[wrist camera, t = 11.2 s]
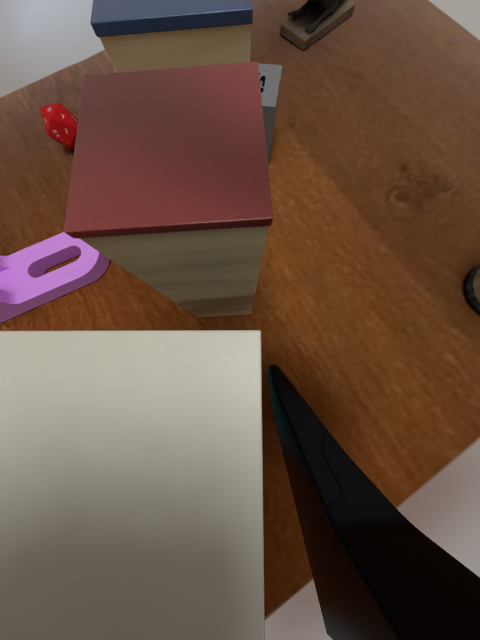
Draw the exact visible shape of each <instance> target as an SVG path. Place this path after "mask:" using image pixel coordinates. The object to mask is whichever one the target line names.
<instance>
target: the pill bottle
mask: <svg viewBox="0 0 480 640" xmlns="http://www.w3.org/2000/svg"><path fill="white" fill-rule="evenodd" d="M466 295H467V297H468V300H469V302H470V303H471V304H472V305H473V307H474V308H475V309H476V310H478V311H479V312H480V266H479V267H477V268H475V269H474V270H473V271H472V272H471V274H470V275H469V276H468V278H467V281H466Z"/></svg>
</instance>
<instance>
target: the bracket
mask: <svg viewBox="0 0 480 640" xmlns="http://www.w3.org/2000/svg"><path fill="white" fill-rule="evenodd" d="M78 255H81V256H80V258H79V259H78V260H77V261H75V262H73V263H70V264H68V265H66V266H63V267H61V268H59V269H56V270H54V271H52V272H49V273H47V274H45V275H44V273H45V271H46V270H47V269H48V268H50V267H53V266H55V265H57V264H60V263H62V262H64V261H67V260H69V259H71V258H74V257H76V256H78ZM109 260H110V259H109V258H108V257H106V256H105V255H103V254H102V253H100V252H99V251H97V250H96V249H94V248H93V247H91V246H90V245H88V244H87V243H85V242H84V241H82V240H81V239H79V238H76V239H75V238H72V237H71V236H69V235H68V234H66V233H65V232H63V233H61V234H58V235H56V236H54V237H51V238H49V239H46V240H44V241H42V242H39V243H37V244H35V245H32V246H30V247H28V248H25V249H23V250H20V251H18V252H16V253H13V254H11V255H8V256H1V255H0V323H1V322H4V321H6V320H8V319H11V318H13V317H15V316H17V315H20V314H22V313H24V312H26V311H29V310H31V309H33V308H36V307H38V306H40V305H42V304H45V303H47V302H49V301H51V300H54V299H56V298H58V297H61V296H63V295H65V294H67V293H70V292H72V291H74V290H76V289H79V288H81V287H83V286H86V285H88V284H90V283H92V282H94V281H96V280H97V279H99V278H100V277H101V276H102V275H103V274H104V273H105V271H106V269H107V267H108V265H109Z"/></svg>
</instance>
